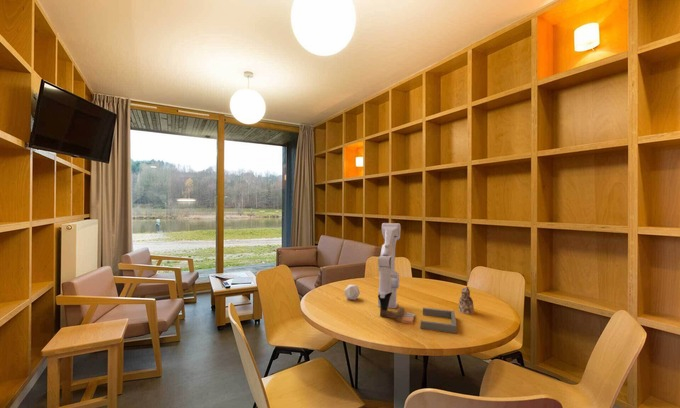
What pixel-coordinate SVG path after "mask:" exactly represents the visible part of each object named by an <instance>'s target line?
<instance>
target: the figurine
mask: <svg viewBox="0 0 680 408" xmlns="http://www.w3.org/2000/svg"><path fill="white" fill-rule="evenodd" d="M460 291H461V296H460V297H459V299H458V300H459V302H458V307H457V308H458V312H459V313H461V314H464V315H473V314H474V311H475V309H474V300H473V298H472V297H471V291H470V288H469V287H468V286H466V287H464V288H462V290H460Z"/></svg>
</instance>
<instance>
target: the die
mask: <svg viewBox="0 0 680 408" xmlns="http://www.w3.org/2000/svg"><path fill="white" fill-rule="evenodd" d="M343 292H344V295H345V298H346V300H350V301H351V300H352V301H357V299H358V298H359V296H360V294H361V293H360V289H359V287H358V285H357V284H347V286H346V287H345V289H344V290H343Z"/></svg>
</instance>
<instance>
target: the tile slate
mask: <svg viewBox="0 0 680 408" xmlns="http://www.w3.org/2000/svg"><path fill="white" fill-rule="evenodd" d="M403 316H407V317H414V318H415V313H414V312H413V313H412V312H405V311H404V314H403Z"/></svg>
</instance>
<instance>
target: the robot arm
mask: <svg viewBox="0 0 680 408" xmlns="http://www.w3.org/2000/svg"><path fill="white" fill-rule="evenodd" d="M401 226H402V225H401V224H400V223H398V222H397V223H394V222H393V223H392V222H383V223H382V224H381V234H382V237H383V239H384V243H383V244H382V245H381V250H380V255H379V256H378V257H377V258H378V260H377V266H378V273H379V275H378V282H379V284H378V292H377V293H378V294H377V297H378V298H377V299H378V302H377V303H378V305H377V306H378V307H380V303H381V308H382V310H385V311H386V310H387V306H388V308H389V309H396V308H397V307H398V304H399V303H398V302H397V290H398V289H399V288H400V274H399V273H398V272H397V271H396V270H395V265H396V262H395V260H396V245H397V241H398V240H400V238H401V230H402V229H401V228H402V227H401ZM387 311H388V310H387Z"/></svg>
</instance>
